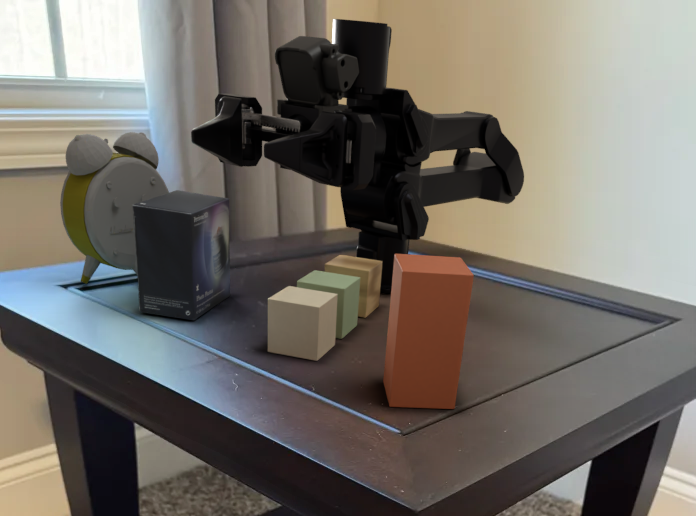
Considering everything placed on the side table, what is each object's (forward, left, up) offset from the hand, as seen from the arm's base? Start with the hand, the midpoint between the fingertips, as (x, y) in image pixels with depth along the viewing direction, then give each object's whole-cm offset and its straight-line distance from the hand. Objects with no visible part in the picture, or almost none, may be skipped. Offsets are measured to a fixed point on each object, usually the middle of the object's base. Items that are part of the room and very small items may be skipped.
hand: (227, 143), depth 69 cm
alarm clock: (-2, -19, -17) cm, 25 cm away
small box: (-1, -8, -17) cm, 19 cm away
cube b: (-7, +7, -17) cm, 19 cm away
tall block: (+1, +23, -17) cm, 29 cm away
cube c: (0, +9, -17) cm, 19 cm away
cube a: (-15, +4, -17) cm, 22 cm away
